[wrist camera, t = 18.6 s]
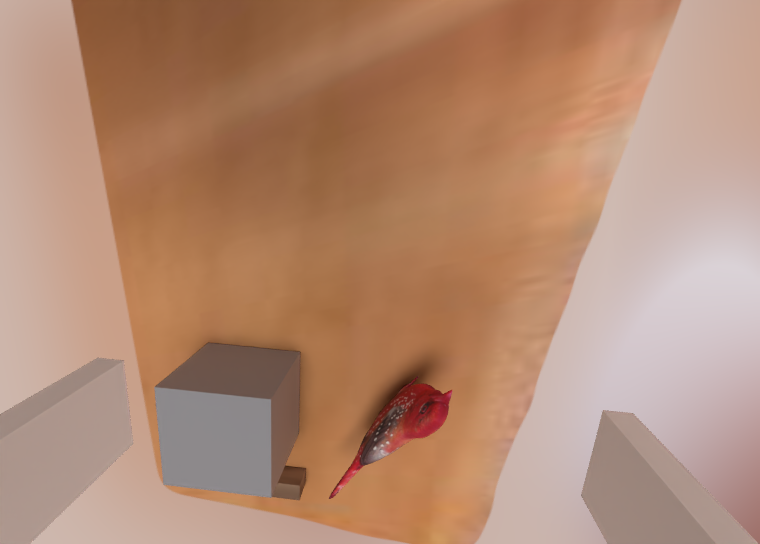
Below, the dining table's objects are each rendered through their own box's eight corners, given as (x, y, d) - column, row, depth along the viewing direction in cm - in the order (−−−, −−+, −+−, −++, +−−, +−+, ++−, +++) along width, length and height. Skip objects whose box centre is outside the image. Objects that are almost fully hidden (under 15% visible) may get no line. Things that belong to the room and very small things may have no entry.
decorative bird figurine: (453, 356, 38) (469, 416, 29) (349, 461, 42) (333, 544, 33) (432, 339, 38) (441, 394, 28) (330, 446, 42) (307, 526, 33)
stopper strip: (190, 454, 44) (177, 471, 41) (305, 468, 43) (299, 485, 41) (191, 468, 44) (179, 485, 42) (305, 482, 44) (299, 500, 41)
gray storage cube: (208, 342, 40) (154, 387, 31) (300, 351, 39) (270, 399, 31) (212, 423, 43) (163, 484, 34) (298, 433, 42) (271, 497, 34)
